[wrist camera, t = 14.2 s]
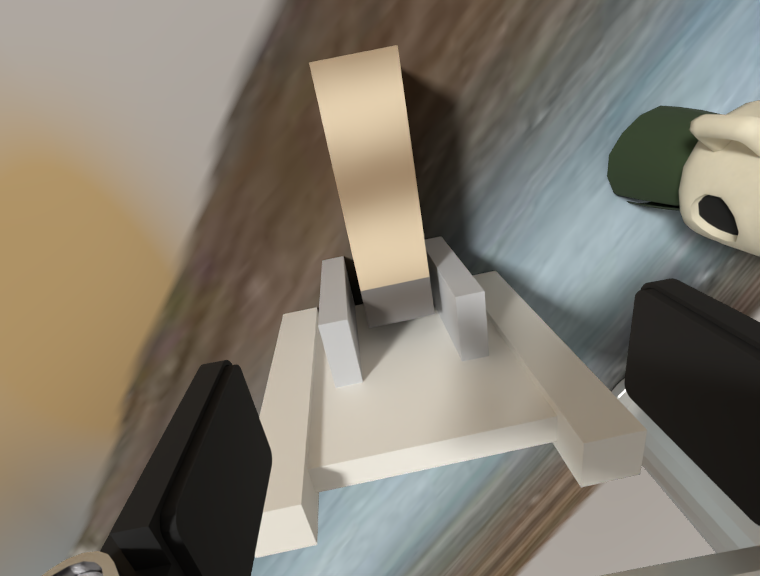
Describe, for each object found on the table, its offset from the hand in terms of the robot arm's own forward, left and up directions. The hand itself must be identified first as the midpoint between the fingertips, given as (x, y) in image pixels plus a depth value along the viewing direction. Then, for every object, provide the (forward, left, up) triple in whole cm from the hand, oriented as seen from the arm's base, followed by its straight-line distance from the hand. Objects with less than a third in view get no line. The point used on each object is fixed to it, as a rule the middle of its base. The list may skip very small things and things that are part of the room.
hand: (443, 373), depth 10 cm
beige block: (0, -1, -19) cm, 19 cm away
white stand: (0, +7, -19) cm, 20 cm away
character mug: (-19, +1, -19) cm, 27 cm away
